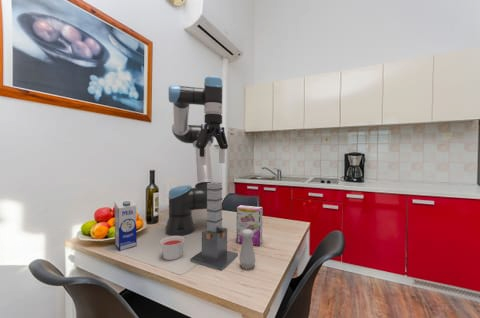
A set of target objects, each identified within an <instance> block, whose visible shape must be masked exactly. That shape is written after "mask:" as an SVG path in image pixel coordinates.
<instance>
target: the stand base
mask: <svg viewBox="0 0 480 318" xmlns="http://www.w3.org/2000/svg"><path fill="white" fill-rule="evenodd" d="M238 256H239V253H238V252H234V251H230V250H228V228H226V227H223V226H222V227H221V228H220V229H219V232H218V233H217V234H216V233H211V232H207V228H206V229H204V230H202V231H201V250H200V251H199V252H198V253H197V254H194V256H192V257H190V258H189V259H190V260H189V261H190V262H192V263H195V264H198V265H200V266H204V267H207V268H211V269H214V270H217V271H220V272H223V271H224V270H225V268H227V267H228V266H229V265H230V264H231V263H232V262H233V261H234V260H235V259H236V258H237V257H238Z"/></svg>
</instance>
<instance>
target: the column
mask: <svg viewBox="0 0 480 318" xmlns="http://www.w3.org/2000/svg"><path fill="white" fill-rule="evenodd" d="M222 184H223V183H222V182H219V181H217V182H216V181H213V182H211V183H207V189H206V190H207V199H206V201H207V209H205V210H206V217H207V218H206V224H207V225H206V227H207V228H206V229H207V232H211V233H216V234H217V233H218V232H219V229H220V228H221V227H222V228H223V222H222V221H223V216H222V215H223V207H222V205H223V203H222V202H223V201H222V200H223V195H222V194H223V193H222V192H223V185H222Z"/></svg>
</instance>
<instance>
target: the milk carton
mask: <svg viewBox="0 0 480 318" xmlns="http://www.w3.org/2000/svg"><path fill="white" fill-rule="evenodd" d="M137 236H138V235H137V204H136V202H135V201H134V199H132V198H129V199H123V200H122V199H121V200H114V246H115V247H116V249H117V250H118V251H119V252H121V251H124V250H128V249H131V248H135V247H137V243H138V242H137V240H138V239H137Z"/></svg>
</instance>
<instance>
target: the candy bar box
mask: <svg viewBox="0 0 480 318" xmlns="http://www.w3.org/2000/svg"><path fill="white" fill-rule="evenodd" d="M245 229H250V230H252V231H253V234H254V235H253V238H252V242H253V246H256V247H260V246H261V245H262V243H263V207H262V206H252V205H251V206H250V205H244V204H243V205H242V204H240V205H239V206H237V207H236V244H242V241H243V237H242V234H241V233H242V231H243V230H245Z"/></svg>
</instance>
